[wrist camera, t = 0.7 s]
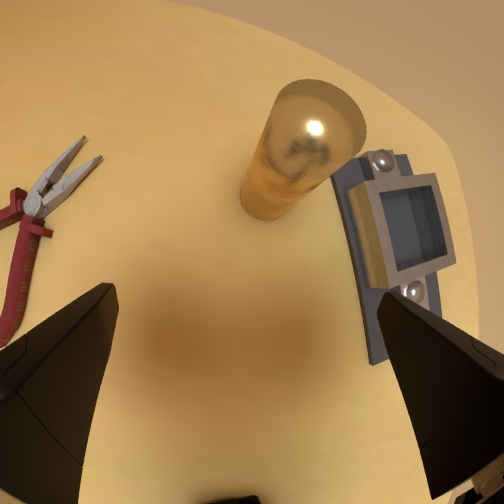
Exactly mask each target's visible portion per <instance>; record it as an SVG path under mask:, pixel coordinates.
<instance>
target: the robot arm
mask: <svg viewBox="0 0 504 504" xmlns="http://www.w3.org/2000/svg"><path fill="white" fill-rule="evenodd" d="M118 311H119V304H118V299H117V294H116V288H115V286H114V284H113V283H100V284H99V285H97V286H96V287H94V288H93V289H91V290H89V291H88V292H86V293H85V294H83V295H82V296H80V297H79V298H77V299H76V300H74V301H73V302H71V303H70V304H68V305H67V306H65V307H64V308H62V309H61V310H59V311H58V312H56V313H55V314H53V315H52V316H50V317H49V318H47V319H46V320H44V321H43V322H41V323H40V324H38V325H37V326H36V327H34V328H33V329H31V330H30V331H28V332H27V334H24V335H23V336H21V337H20V338H19V339H17V340H16V341H14V342H13V343H11V344H10V345H8V346H7V347H6V348H4V349H2V350H1V351H0V504H78V498H79V490H80V483H81V477H82V470H83V468H82V467H83V463H84V458H85V452H86V447H87V442H88V437H89V432H90V428H91V423H92V419H93V415H94V410H95V406H96V402H97V398H98V394H99V390H100V387H101V383H102V379H103V376H104V372H105V369H106V365H107V362H108V358H109V355H110V351H111V346H112V341H113V336H114V331H115V326H116V321H117V316H118ZM377 319H378V322H379V326H380V329H381V333H382V336H383V340H384V344H385V347H386V350H387V353H388V356H389V359H390V362H391V364H392V367H393V370H394V373H395V375H396V378H397V381H398V384H399V387H400V389H401V392H402V395H403V398H404V401H405V404H406V407H407V410H408V413H409V417H410V420H411V423H412V426H413V430H414V433H415V436H416V440H417V443H418V447H419V450H420V455H421V458H422V462H423V466H424V470H425V474H426V478H427V482H428V486H429V491H430V495H431V498H432V500H434V499H436V498H438V497H440V496H442V495H444V494H445V493H447V492H449V491H451V490H453V489H454V488H456V487H458V486H460V485H461V484H463V483H465V482H466V481H468V480H470V479H471V482H472V484H473V486H474V487H473V488H472V489H470V490H468V491H467V492H465V493H463V494H462V495H460V496H458V497H457V498H456V500H455V503H454V504H504V354H502V353H500V352H498V351H496V350H494V349H493V348H491V347H489V346H487V345H486V344H484V343H482V342H481V341H479V340H477V339H476V338H474V337H472V336H471V335H469V334H467V333H466V332H464V331H462V330H461V329H459V328H457V327H456V326H454V325H452V324H451V323H449V322H447V321H446V320H444V319H442V318H441V317H439V316H437V315H436V314H434V313H432V312H430V311H429V310H427V309H425V308H424V307H422V306H420V305H418V304H417V303H415V302H413V301H411V300H410V299H408V298H406V297H404V296H403V295H401V294H399V293H397V292H395V291H387V292H385V293H384V294H383V296H382V299H381V301H380V304H379V306H378V309H377ZM252 500H254V501H252ZM212 504H261V503H260V500H259V498H258V497H257V496H251V497H246V498H241V499H236V500H231V501H225V502H219V503H212Z"/></svg>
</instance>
